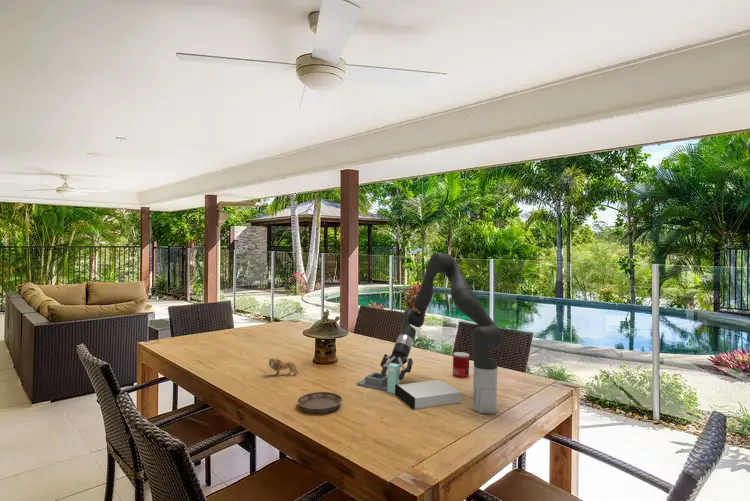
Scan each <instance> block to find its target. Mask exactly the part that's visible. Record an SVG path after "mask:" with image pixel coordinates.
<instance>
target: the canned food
mask: <svg viewBox="0 0 750 501" xmlns="http://www.w3.org/2000/svg"><path fill="white" fill-rule="evenodd" d="M452 355H453V356H452V375H453V377H455V378H459V379H466V378H469V375H470V354H469V353H468V352H462V351H461V352H460V351H457V352H456V351H455V352H453V353H452Z"/></svg>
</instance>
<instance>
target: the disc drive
mask: <svg viewBox="0 0 750 501" xmlns="http://www.w3.org/2000/svg"><path fill="white" fill-rule="evenodd" d="M394 395H395V396H396V397H398V398H399V399H400V400H401V401H402V402H404V403H405V404H406V405H408V407H410V408H411V409H412V410H417V409H423V408H424V409H425V408H431V407H437V406H444V405H446V406H447V405H453V404H458V403H462V391H460V390H459V389H456V388H455V387H453V386H451V385H450V384H448V383H446V382H445V381H443V380H441V379H436V380H435V379H434V380H427V381H418V382H410V383H403V384H402V383H401V384H400V385H397V384H395V394H394Z"/></svg>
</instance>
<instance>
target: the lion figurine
mask: <svg viewBox="0 0 750 501" xmlns="http://www.w3.org/2000/svg"><path fill="white" fill-rule="evenodd" d="M268 367H269V368H271V369H272V370H273V371H276V373H275V374H274V375H275V376H276V377H279V376H280V372H281V371H284V370H288V369H289V372H288V373H287V374H288V375H291V373H293V374H292V376H294V377H295V376H296V375H297V374H300V373H299V372H298V371H297V366H296V364H295V363H294V362H293V361H286V362H285V361H281V360H280V359H278V358H275V357H271V358H270V359H268Z"/></svg>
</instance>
